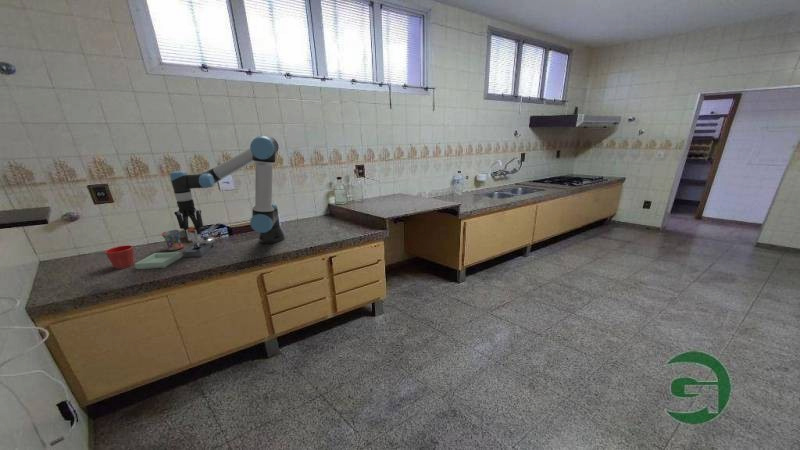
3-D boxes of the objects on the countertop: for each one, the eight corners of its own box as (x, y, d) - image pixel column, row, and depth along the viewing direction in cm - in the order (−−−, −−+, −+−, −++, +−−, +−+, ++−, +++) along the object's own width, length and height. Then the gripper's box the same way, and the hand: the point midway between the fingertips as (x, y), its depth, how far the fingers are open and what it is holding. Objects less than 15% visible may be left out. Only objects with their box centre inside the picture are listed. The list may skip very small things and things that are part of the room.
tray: (181, 257, 168) (180, 252, 168) (164, 267, 155) (162, 262, 154) (156, 258, 168) (154, 253, 167) (136, 268, 155) (134, 263, 154)
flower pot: (123, 261, 164) (118, 245, 161) (142, 261, 164) (137, 245, 161) (104, 270, 154) (98, 252, 151) (125, 270, 154) (119, 252, 151)
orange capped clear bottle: (202, 245, 174) (197, 226, 171) (198, 248, 170) (193, 228, 167) (195, 246, 174) (190, 226, 170) (191, 248, 170) (185, 228, 167)
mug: (182, 250, 179) (178, 233, 176) (163, 252, 175) (159, 235, 172) (186, 243, 189) (182, 227, 186) (169, 246, 186) (164, 230, 182)
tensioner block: (219, 243, 187) (217, 233, 185) (201, 256, 169) (198, 245, 167) (203, 244, 187) (201, 234, 185) (183, 256, 168) (180, 246, 166)
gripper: (204, 197, 168) (213, 236, 175) (173, 198, 167) (183, 238, 174) (196, 200, 161) (206, 241, 168) (164, 202, 160) (175, 242, 167)
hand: (194, 239), depth 171 cm, fingers closed on orange capped clear bottle, 4 cm apart
